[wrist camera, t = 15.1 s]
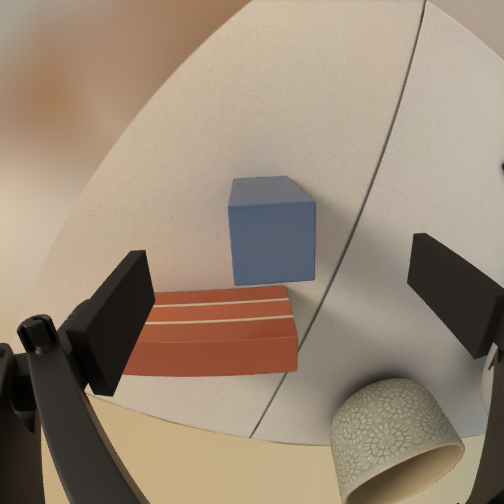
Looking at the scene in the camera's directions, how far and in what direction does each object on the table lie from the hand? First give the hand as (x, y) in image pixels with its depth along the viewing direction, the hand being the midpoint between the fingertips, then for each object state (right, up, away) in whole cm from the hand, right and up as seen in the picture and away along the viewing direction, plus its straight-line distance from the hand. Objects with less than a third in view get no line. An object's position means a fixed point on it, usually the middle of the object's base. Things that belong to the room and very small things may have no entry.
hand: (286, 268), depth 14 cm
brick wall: (-6, -5, +19) cm, 20 cm away
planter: (+17, -22, +26) cm, 39 cm away
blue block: (-1, +5, +15) cm, 16 cm away
